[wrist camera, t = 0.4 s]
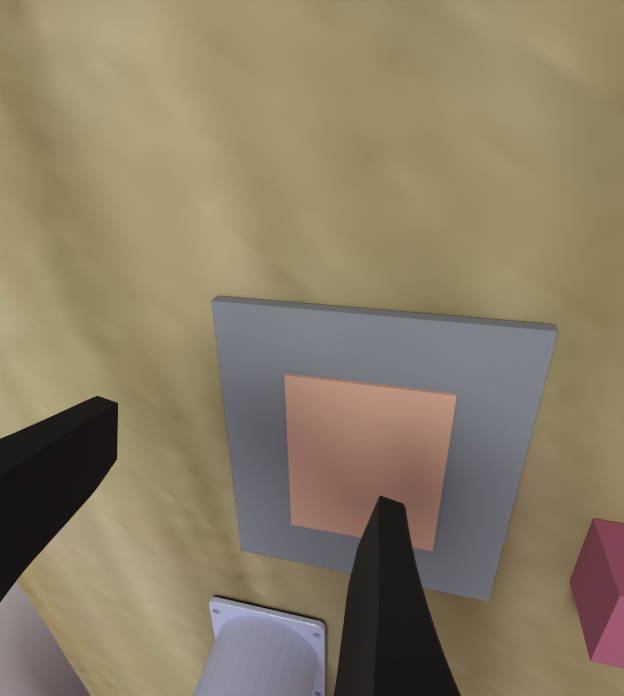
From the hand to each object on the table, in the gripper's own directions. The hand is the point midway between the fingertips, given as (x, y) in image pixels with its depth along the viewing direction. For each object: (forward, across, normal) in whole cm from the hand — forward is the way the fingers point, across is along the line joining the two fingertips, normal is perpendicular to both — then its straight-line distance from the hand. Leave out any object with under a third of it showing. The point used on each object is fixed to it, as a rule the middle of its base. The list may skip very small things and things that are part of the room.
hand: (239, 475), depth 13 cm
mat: (+10, -4, +6) cm, 12 cm away
